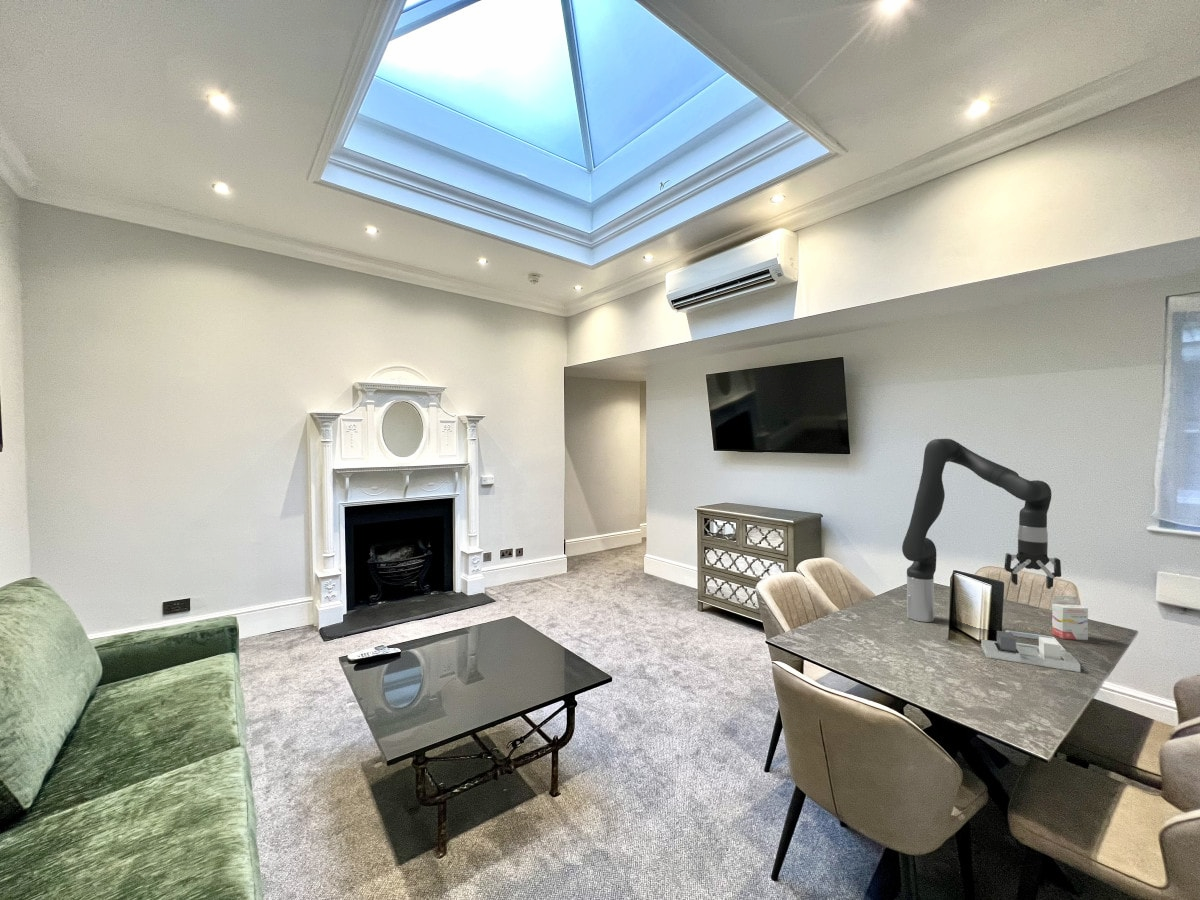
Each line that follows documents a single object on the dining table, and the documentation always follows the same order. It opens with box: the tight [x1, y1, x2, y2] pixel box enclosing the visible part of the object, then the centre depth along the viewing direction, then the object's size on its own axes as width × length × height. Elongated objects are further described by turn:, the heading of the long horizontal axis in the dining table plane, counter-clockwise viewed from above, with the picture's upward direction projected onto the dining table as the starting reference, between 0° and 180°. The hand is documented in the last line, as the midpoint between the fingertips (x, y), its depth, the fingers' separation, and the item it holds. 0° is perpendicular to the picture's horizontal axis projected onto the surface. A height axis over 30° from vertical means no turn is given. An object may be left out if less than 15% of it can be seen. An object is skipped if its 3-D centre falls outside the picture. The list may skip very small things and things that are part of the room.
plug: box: [1038, 637, 1062, 660], centre depth 157 cm, size 4×6×7 cm, turn 149°
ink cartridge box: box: [1051, 595, 1089, 641], centre depth 176 cm, size 9×5×15 cm, turn 84°
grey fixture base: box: [980, 630, 1081, 673], centre depth 160 cm, size 23×10×7 cm, turn 60°
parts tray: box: [1004, 629, 1067, 652], centre depth 171 cm, size 14×14×2 cm
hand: (1031, 586), depth 164 cm, fingers open, 8 cm apart
